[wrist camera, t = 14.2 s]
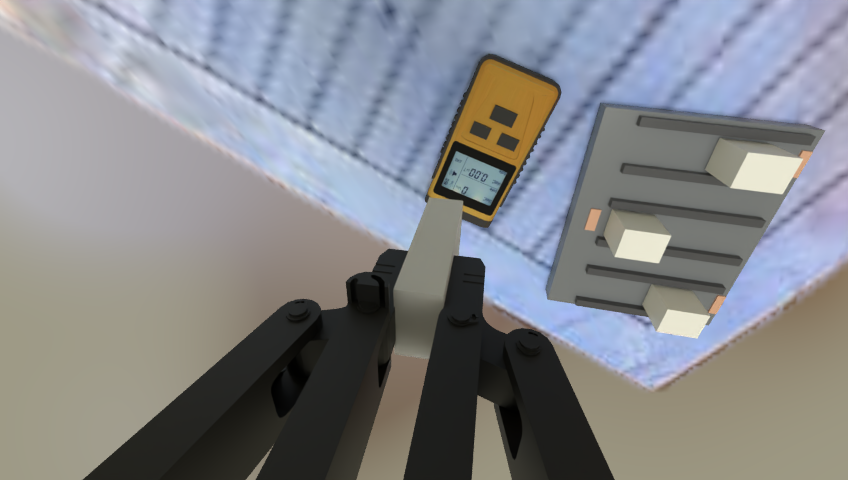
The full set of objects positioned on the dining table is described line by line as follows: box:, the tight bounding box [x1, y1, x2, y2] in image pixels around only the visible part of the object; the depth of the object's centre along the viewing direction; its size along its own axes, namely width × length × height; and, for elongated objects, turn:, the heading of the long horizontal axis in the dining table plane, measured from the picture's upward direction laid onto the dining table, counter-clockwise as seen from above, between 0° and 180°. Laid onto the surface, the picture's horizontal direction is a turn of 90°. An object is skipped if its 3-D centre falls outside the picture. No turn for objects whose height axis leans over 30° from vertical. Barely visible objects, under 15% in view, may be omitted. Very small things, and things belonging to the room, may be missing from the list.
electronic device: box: [425, 54, 561, 228], centre depth 39 cm, size 8×16×3 cm, turn 159°
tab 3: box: [705, 138, 803, 194], centre depth 33 cm, size 3×4×4 cm
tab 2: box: [642, 284, 710, 338], centre depth 41 cm, size 3×4×4 cm
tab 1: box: [603, 209, 671, 263], centre depth 37 cm, size 3×4×4 cm
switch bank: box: [546, 103, 825, 325], centre depth 40 cm, size 22×18×3 cm
